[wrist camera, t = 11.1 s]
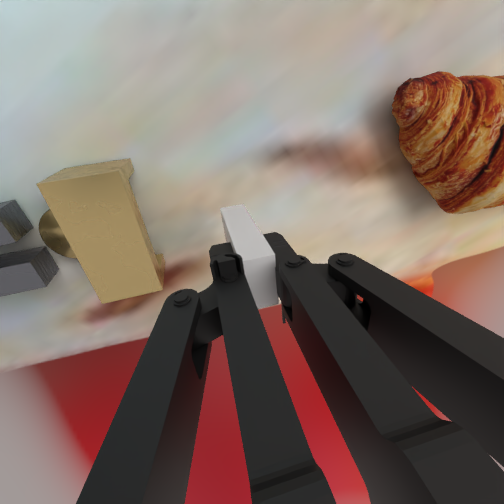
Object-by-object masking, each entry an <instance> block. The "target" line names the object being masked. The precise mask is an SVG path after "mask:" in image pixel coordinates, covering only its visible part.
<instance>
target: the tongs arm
mask: <svg viewBox="0 0 504 504" xmlns="http://www.w3.org/2000/svg"><path fill="white" fill-rule="evenodd" d="M32 228H33V226H32V225H31V223H30V222H29V220H28V219H27V217H26V216H25V214H24V213H23V211H22V210H21V208H20V207H19V205H18V204H17V202H16V201H15V200H12V201H7V202H2V203H0V246H1V245H6V244H10V243H14V242H17V241H18V240H19V239H20V238H21V237H23V236H24V235H25V234H26V233H27V232H29V231H30V230H31V229H32Z"/></svg>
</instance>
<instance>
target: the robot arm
mask: <svg viewBox="0 0 504 504" xmlns="http://www.w3.org/2000/svg"><path fill="white" fill-rule="evenodd" d="M220 210H221V215H222V221H223V226H224V232H225V237H226V243H223V244H218V245H213V246H212V247H211V248H210V250H209V254H210V260H211V261H210V267H211V272H212V276H213V283H212V284H211V285H210V286H209V287H208V288H207V289H205V290H204V291H202V292H200V293H197V291H195V290H192V289H183V290H179V291H176V292H174V293H172V294H171V295H170V296H169V297H168V298H167V299H166V301H165V303H164V305H163V307H162V309H161V312H160V314H159V316H158V318H157V321H156V323H155V325H154V328H153V330H152V332H151V334H150V337H149V339H148V341H147V344H146V346H145V348H144V350H143V353H142V355H141V357H140V359H139V362H138V364H137V367H136V368H135V371H134V373H133V375H132V378H131V380H130V382H129V384H128V387H127V389H126V391H125V393H124V396H123V398H122V400H121V403H120V405H119V407H118V409H117V412H116V414H115V416H114V418H113V421H112V423H111V425H110V428H109V430H108V432H107V434H106V437H105V439H104V441H103V444H102V446H101V448H100V450H99V453H98V455H97V457H96V460H95V462H94V464H93V466H92V469H91V471H90V473H89V475H88V478H87V480H86V482H85V484H84V487H83V489H82V491H81V494H80V496H79V498H78V500H77V503H76V504H184V503H185V497H186V491H187V486H188V480H189V474H190V468H191V462H192V456H193V450H194V445H195V439H196V433H197V428H198V422H199V416H200V410H201V405H202V399H203V393H204V387H205V381H206V375H207V369H208V364H209V358H210V352H211V346H212V340H214V339H216V338H218V337H219V336H221V335H223V336H224V342H225V347H226V353H227V358H228V364H229V369H230V375H231V381H232V386H233V392H234V398H235V403H236V409H237V414H238V420H239V425H240V431H241V437H242V442H243V448H244V453H245V459H246V465H247V470H248V476H249V482H250V489H251V498H252V504H336V502H335V499H334V497H333V494H332V492H331V489H330V487H329V485H328V482H327V480H326V477H325V476H324V474H323V472H322V470H321V468H320V467H319V466H318V465H317V464H316V462H315V460H314V458H313V456H312V453H311V451H310V448H309V446H308V443H307V440H306V437H305V435H304V432H303V430H302V427H301V424H300V421H299V419H298V416H297V413H296V411H295V408H294V405H293V402H292V400H291V397H290V395H289V392H288V389H287V386H286V384H285V381H284V378H283V376H282V373H281V370H280V368H279V365H278V363H277V359H276V357H275V355H274V351H273V349H272V346H271V344H270V341H269V338H268V335H267V333H266V330H265V327H264V325H263V322H262V320H261V317H260V314H259V311H258V309H260V308H264V307H268V306H272V305H276V304H279V300H278V296H279V298H280V300H281V304H282V319H283V323H286V322H285V318H286V320H287V322H288V324H289V326H290V328H291V330H292V332H293V334H294V336H295V338H296V341H297V343H298V345H299V347H300V349H301V351H302V353H303V355H304V357H305V359H306V361H307V363H308V365H309V367H310V370H311V372H312V374H313V376H314V378H315V380H316V382H317V384H318V386H319V388H320V390H321V393H322V394H323V397H324V398H325V401H326V403H327V405H328V407H329V409H330V411H331V413H332V415H333V418H334V420H335V422H336V424H337V426H338V428H339V430H340V432H341V434H342V436H343V438H344V440H345V442H346V445H347V447H348V449H349V451H350V453H351V455H352V457H353V459H354V461H355V463H356V465H357V467H358V469H359V471H360V474H361V476H362V478H363V480H364V482H365V484H366V487H367V490H368V493H369V497H370V502H371V504H504V471H503V470H502V469H501V468H500V467H499V466H498V465H497V463H496V462H495V461H494V460H493V459H492V458H491V457H490V455H491V456H492V457H493V458H494V459H495V460H496V461H497V462H499V463H500V464H501V465H502V466H503V467H504V338H502V337H501V336H499V335H497V334H495V333H494V332H492V331H490V330H488V329H486V328H485V327H483V326H481V325H479V324H477V323H476V322H474V321H472V320H470V319H468V318H466V317H464V316H463V315H461V314H459V313H458V312H456V311H454V310H452V309H450V308H448V307H446V306H445V305H443V304H441V303H440V302H438V301H436V300H434V299H432V298H431V297H429V296H427V295H425V294H423V293H422V292H420V291H418V290H416V289H415V288H413V287H411V286H409V285H407V284H406V283H404V282H402V281H400V280H398V279H397V278H395V277H393V276H391V275H389V274H388V273H386V272H384V271H382V270H380V269H379V268H377V267H375V266H373V265H371V264H370V263H368V262H366V261H364V260H362V259H361V258H359V257H357V256H355V255H352V254H348V253H338V254H334V255H332V256H330V257H329V259H328V264H312V263H311V262H310V261H309V260H308V259H307V258H306V257H304V256H301V255H297V254H296V253H295V252H294V250H293V249H292V248H291V246H290V245H289V244H288V243H287V241H286V240H285V239H284V237H283V236H282V235H280V234H278V233H276V232H273V233H268V234H262V233H261V231H260V229H259V228H258V226H257V224H256V223H255V221H254V220H253V218H252V216H251V215H250V213H249V212H248V210H247V208H246V207H245V205H244V204H240V205H234V206H229V207H224V208H220ZM357 294H358V295H359V296H361V297H362V298H363V302H362V301H360V300H359V299H357ZM412 387H414V388H415V389H416V390H417V391H418V392H419V393H420V394H421V395H423V396H424V397H425V398H426V399H427V400H428V401H429V402H430V403H432V404H433V405H434V406H435V407H436V408H437V409H438V410H440V411H441V412H442V413H443V414H444V415H445V416H446V417H448V418H449V419H450V420H451V421H452V422H451V421H446V420H442V419H440V418H439V417H437V416H436V415H435V414H434V413H433V412H432V411H431V410H430V408H429V407H428V406H427V405H426V404H425V402H424V401H423V400H422V399H421V397H420V396H419V395H418V394H417V393H416V392H415V390H414V389H413V388H412Z"/></svg>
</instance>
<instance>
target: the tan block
mask: <svg viewBox="0 0 504 504" xmlns="http://www.w3.org/2000/svg"><path fill="white" fill-rule="evenodd" d="M133 172H134V168H133V165H132V162H131V160H130V158H129V159H123V160H116V161H110V162H103V163H96V164H90V165H83V166H77V167H70V168H64V169H63V170H61V171H59V172H57V173H55V174H54V175H52V176H50V177H48V178H47V179H45V180H43V181H41V182H39V183H38V184H37V186H38V188H39V190H40V191H41V193H42V195H43V197H44V199H45V200H46V202H47V204H48V206H49V208H50V210H51V211H52V213H53V215H54V217H55V219H56V220H57V222H58V224H59V226H60V228H61V230H62V231H63V233H64V235H65V237H66V239H67V241H68V242H69V244H70V246H71V248H72V250H73V251H74V253H75V255H76V257H77V259H78V261H79V262H80V264H81V266H82V268H83V270H84V272H85V273H86V275H87V277H88V279H89V281H90V282H91V284H92V286H93V288H94V290H95V292H96V293H97V295H98V297H99V299H100V301H101V303H102V304H104V303H108V302H113V301H117V300H121V299H126V298H130V297H134V296H139V295H143V294H147V293H152V292H156V291H160V290H163V280H164V270H165V260H164V257H163V254H158V255H155V253H154V250H153V247H152V245H151V242H150V239H149V236H148V233H147V231H146V228H145V225H144V222H143V219H142V217H141V214H140V211H139V208H138V205H137V203H136V200H135V197H134V194H133V191H132V189H131V186H130V183H129V180H128V179H129V178H130V176H131V175H132V173H133Z"/></svg>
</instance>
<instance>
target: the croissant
mask: <svg viewBox="0 0 504 504" xmlns="http://www.w3.org/2000/svg"><path fill="white" fill-rule="evenodd" d="M394 100H395V101H394V102H393V104H392V107H393V109H392V114H393V116H394V117H395V118H396V123H397V124H398V125H399V126H400V132H399V142H400V148H401V150H402V153H403V155H404V156H405V158H406V159H407V160H408V161H409V163H410V164H411V165H412V170H413V173H414V175H415V177H416V179H417V180H418V181H419V182H420V183H421V184H422V185H423V186H424V187H425V188H426V190H428V191H429V193H430V194H431V196H432V197H433V199H436V201H437V203H438V205H439V206H440V208H442V209H443V210H444V211H445V212H447V213H452V214H461V213H466V212H472V211H476V210H479V209H482V208H492V207H496V206H501V205H504V76H494V77H490V76H484V75H481V76H461V77H455V76H454V75H452V74H451V73H448V72H439V71H438V72H436V73H433V74H430V75H427V76H424V77H421V78H414V79H412V78H410V79H408V80H407V81H405V82H404V83H403V84H402V85H401V86H400V87H399V88H398V89H397V91H396V94H395V97H394Z"/></svg>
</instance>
